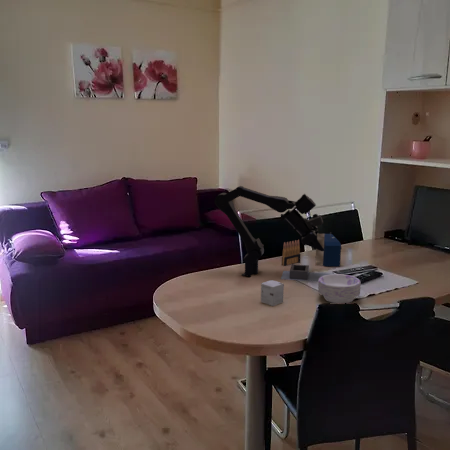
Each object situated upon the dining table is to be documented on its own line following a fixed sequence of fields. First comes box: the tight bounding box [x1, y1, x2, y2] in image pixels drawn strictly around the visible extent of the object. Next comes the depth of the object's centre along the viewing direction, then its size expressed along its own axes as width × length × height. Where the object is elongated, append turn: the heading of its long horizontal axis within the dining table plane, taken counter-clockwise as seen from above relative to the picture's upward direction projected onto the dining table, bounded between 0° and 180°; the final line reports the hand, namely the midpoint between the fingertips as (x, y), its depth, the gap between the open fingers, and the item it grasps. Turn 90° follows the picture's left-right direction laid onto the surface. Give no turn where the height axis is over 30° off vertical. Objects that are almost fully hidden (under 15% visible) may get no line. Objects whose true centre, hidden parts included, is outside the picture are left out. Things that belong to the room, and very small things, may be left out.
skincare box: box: [260, 279, 285, 307], centre depth 169 cm, size 6×6×7 cm
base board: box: [280, 270, 330, 283], centre depth 197 cm, size 24×12×1 cm, turn 77°
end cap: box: [289, 264, 310, 280], centre depth 197 cm, size 7×9×4 cm
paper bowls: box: [317, 273, 362, 304], centre depth 172 cm, size 15×15×8 cm
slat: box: [314, 233, 325, 267], centre depth 193 cm, size 3×5×12 cm, turn 167°
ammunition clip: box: [281, 239, 301, 267], centre depth 215 cm, size 11×2×12 cm, turn 127°
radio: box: [322, 233, 342, 268], centre depth 219 cm, size 21×9×20 cm, turn 179°
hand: (323, 249), depth 193 cm, fingers closed on slat, 5 cm apart
